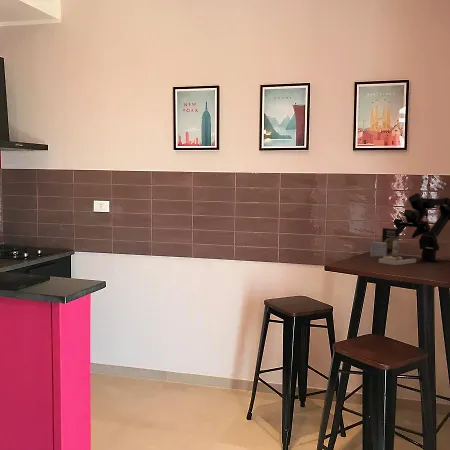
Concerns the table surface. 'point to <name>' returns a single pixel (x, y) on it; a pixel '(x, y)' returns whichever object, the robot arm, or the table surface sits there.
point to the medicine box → (378, 249)
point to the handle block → (394, 252)
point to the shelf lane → (397, 261)
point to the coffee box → (389, 239)
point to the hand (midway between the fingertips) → (404, 236)
